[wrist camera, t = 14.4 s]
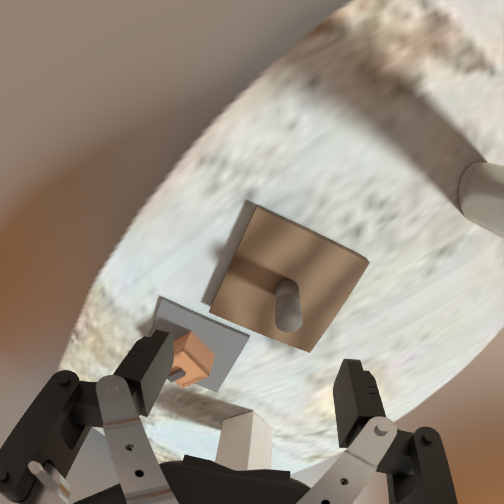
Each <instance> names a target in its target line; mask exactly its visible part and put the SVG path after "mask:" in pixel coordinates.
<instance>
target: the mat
mask: <svg viewBox="0 0 504 504" xmlns="http://www.w3.org/2000/svg"><path fill="white" fill-rule="evenodd" d="M156 329H160V330H165V331H169V332H172V333H173V341H175V340H176V339H178V338H180V337H182V336H183V335H185V334H187V333H188V332H190V331H192V332H193V333H194V334H195V335H196V336H197V337H198V338H199V339H200V340H201V341H202V342H203V343H204V344H205V345H206V346H207V347H208V349H209V350H210V351H211V352H212V353H213V354H214V355H215V358H214V361H213V365H212V368H211V372H210V375H209V377H207V378H205V379H203V380H201V381H198V382H196V383H195V384H197V385H200V386H202V387H205V388H207V389H210V390H213V391H215V392H217V391H218V390H219V388H220V386H221V385H222V383H223V381H224V380H225V378H226V376H227V375H228V373H229V371H230V370H231V368H232V366H233V365H234V363H235V361H236V360H237V358H238V356H239V355H240V353H241V351H242V350H243V348H244V346H245V344H246V343H247V341H248V339H249V337H250V335H248V334H245V333H243V332H240V331H238V330H235V329H233V328H231V327H228V326H226V325H224V324H221V323H219V322H217V321H214V320H212V319H210V318H207V317H205V316H203V315H201V314H198V313H196V312H194V311H192V310H189V309H187V308H185V307H183V306H181V305H179V304H176V303H174V302H172V301H170V300H168V299H166V298H164V297H163V298H162V300H161V303H160V306H159V309H158V312H157V315H156V318H155V321H154V325H153V328H152V331H151V334H150V337H151V336H152V334H153V333H154V331H155V330H156Z"/></svg>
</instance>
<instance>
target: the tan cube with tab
mask: <svg viewBox="0 0 504 504" xmlns="http://www.w3.org/2000/svg"><path fill="white" fill-rule="evenodd" d="M173 348H174V361H173V366H172V368H171V371H170V373H169V375H168V377H167V379H168V380H169V381H170V382H173V381H175V382H176V383H177V384H178V385H179V386H180V387H181V388H184V387H187V386H189V385H191V384H194V383H196V382H198V381H201V380H203V379H205V378H207V377H209V375H210V372H211V368H212V365H213V361H214V358H215V355H214V354H213V353H212V352H211V351H210V350H209V349H208V347H207V346H206V345H205V344H204V343H203V342H202V341H201V340H200V339H199V338H198V337H197V336H196V335H195V334H194V333H193V332H192V331H190V332H188V333H187V334H185V335H183V336H182V337H180V338H178V339H176V340H175V341H173Z"/></svg>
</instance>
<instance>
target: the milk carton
mask: <svg viewBox="0 0 504 504" xmlns="http://www.w3.org/2000/svg"><path fill="white" fill-rule="evenodd" d="M272 435H273V429H272V428H271V427H270V426H269V425H268V424H267V423H266V422H265V421H264V420H262V419H261V418H260V417H259V416H258V415H257V414H256V413H255V412H254V411H252V412H248V413H245V414H242V415H239V416H235V417H232V418H229V419H225V420H223V425H222V430H221V435H220V440H219V445H218V450H217V455H216V460H215V463H218V464H220V465H223V466H225V467H228V468H230V469H233V470H236V471H243V470H257V469H270V470H271V456H272Z"/></svg>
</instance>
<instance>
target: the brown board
mask: <svg viewBox="0 0 504 504" xmlns="http://www.w3.org/2000/svg"><path fill="white" fill-rule="evenodd" d="M369 263H370V262H369V261H368V260H367V258H365V257H363V256H361V255H359V254H357V253H355V252H353V251H351V250H349V249H347V248H345V247H343V246H341V245H339V244H337V243H335V242H333V241H331V240H329V239H327V238H325V237H323V236H321V235H319V234H317V233H315V232H313V231H311V230H309V229H307V228H304V227H302V226H300V225H298V224H296V223H294V222H292V221H290V220H288V219H286V218H283V217H281V216H279V215H277V214H275V213H273V212H271V211H268V210H266V209H264V208H262V207H260V206H258V205H257V207H256V209H255V212H254V214H253V216H252V218H251V220H250V222H249V224H248V227H247V229H246V231H245V233H244V235H243V237H242V240H241V242H240V244H239V246H238V248H237V250H236V253H235V255H234V257H233V259H232V261H231V263H230V266H229V268H228V270H227V272H226V274H225V277H224V279H223V281H222V283H221V285H220V288H219V290H218V292H217V294H216V296H215V299H214V301H213V303H212V305H211V308H210V310H209V313H212V314H214V315H216V316H219V317H221V318H223V319H226V320H228V321H230V322H233V323H235V324H237V325H240V326H242V327H245V328H247V329H250V330H252V331H255V332H257V333H260V334H262V335H265V336H267V337H270V338H272V339H275V340H277V341H280V342H282V343H285V344H288V345H290V346H293V347H296V348H298V349H301V350H304V351H307V352H309V353H310V352H311V351H312V349H313V348H314V346H315V345H316V344H317V342H318V341H319V339H320V338H321V337H322V335H323V334H324V332H325V331H326V329H327V328H328V327H329V325H330V324H331V322H332V321H333V319H334V318H335V316H336V315H337V313H338V312H339V310H340V309H341V307H342V306H343V304H344V303H345V301H346V300H347V298H348V297H349V295H350V294H351V292H352V290H353V289H354V287H355V286H356V284H357V282H358V281H359V279H360V278H361V276H362V274H363V273H364V271H365V269H366V268H367V266H368V264H369Z"/></svg>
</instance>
